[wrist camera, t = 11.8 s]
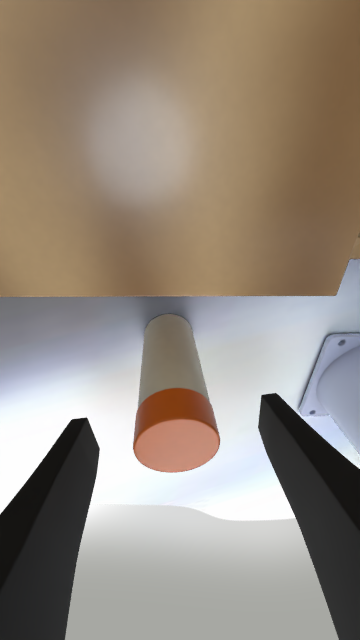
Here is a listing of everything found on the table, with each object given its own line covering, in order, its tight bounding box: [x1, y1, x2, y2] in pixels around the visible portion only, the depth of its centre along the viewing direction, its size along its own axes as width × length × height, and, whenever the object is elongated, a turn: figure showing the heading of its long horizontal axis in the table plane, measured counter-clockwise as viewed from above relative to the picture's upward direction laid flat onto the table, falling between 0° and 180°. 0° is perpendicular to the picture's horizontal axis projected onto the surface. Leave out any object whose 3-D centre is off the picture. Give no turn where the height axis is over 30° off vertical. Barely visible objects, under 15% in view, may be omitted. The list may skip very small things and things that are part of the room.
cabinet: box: [0, 0, 360, 297], centre depth 8 cm, size 13×13×6 cm
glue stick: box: [133, 314, 220, 472], centre depth 13 cm, size 3×3×8 cm
